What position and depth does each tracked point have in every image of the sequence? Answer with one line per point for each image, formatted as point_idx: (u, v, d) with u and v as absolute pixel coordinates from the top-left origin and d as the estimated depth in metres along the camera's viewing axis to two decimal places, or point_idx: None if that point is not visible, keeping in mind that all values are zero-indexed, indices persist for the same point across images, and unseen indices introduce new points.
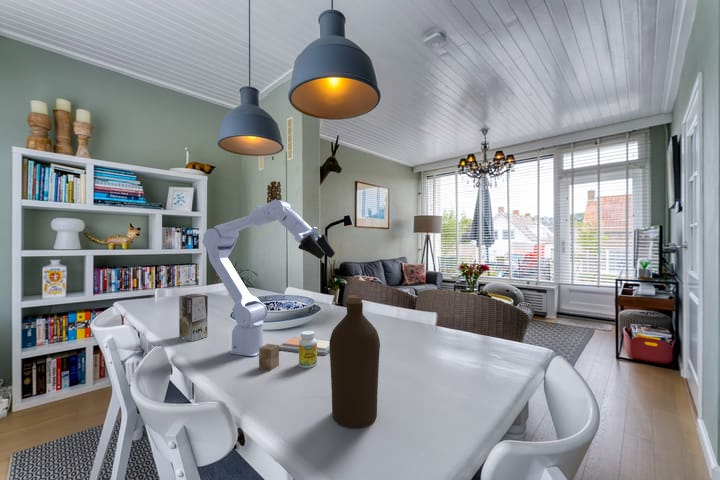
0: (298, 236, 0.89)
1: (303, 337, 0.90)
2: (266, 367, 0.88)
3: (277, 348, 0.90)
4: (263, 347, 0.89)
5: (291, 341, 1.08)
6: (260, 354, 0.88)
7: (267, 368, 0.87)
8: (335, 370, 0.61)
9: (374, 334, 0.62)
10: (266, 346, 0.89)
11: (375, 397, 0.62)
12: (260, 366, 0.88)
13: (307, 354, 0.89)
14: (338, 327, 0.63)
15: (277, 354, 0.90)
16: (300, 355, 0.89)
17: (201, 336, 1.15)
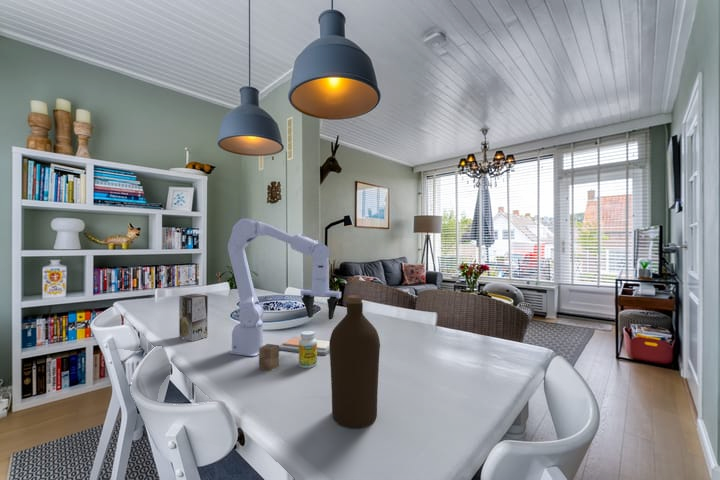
0: (340, 294, 1.04)
1: (303, 337, 0.90)
2: (266, 367, 0.88)
3: (277, 348, 0.90)
4: (263, 347, 0.89)
5: (291, 341, 1.08)
6: (260, 354, 0.88)
7: (267, 368, 0.87)
8: (335, 370, 0.61)
9: (374, 334, 0.62)
10: (266, 346, 0.89)
11: (375, 397, 0.62)
12: (260, 366, 0.88)
13: (307, 354, 0.89)
14: (338, 327, 0.63)
15: (277, 354, 0.90)
16: (300, 355, 0.89)
17: (201, 336, 1.15)
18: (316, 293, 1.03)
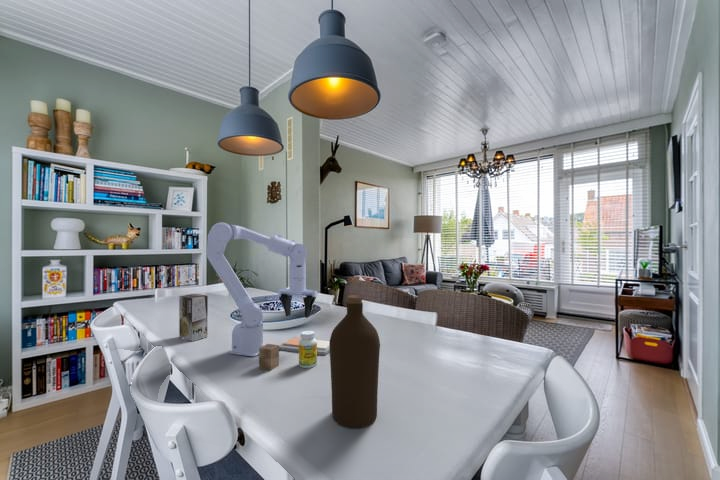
0: (316, 292, 1.06)
1: (303, 337, 0.90)
2: (266, 367, 0.88)
3: (277, 348, 0.90)
4: (263, 347, 0.89)
5: (291, 341, 1.08)
6: (260, 354, 0.88)
7: (267, 368, 0.87)
8: (335, 370, 0.61)
9: (374, 334, 0.62)
10: (266, 346, 0.89)
11: (375, 397, 0.62)
12: (260, 366, 0.88)
13: (307, 354, 0.89)
14: (338, 327, 0.63)
15: (277, 354, 0.90)
16: (300, 355, 0.89)
17: (201, 336, 1.15)
18: (292, 292, 1.05)
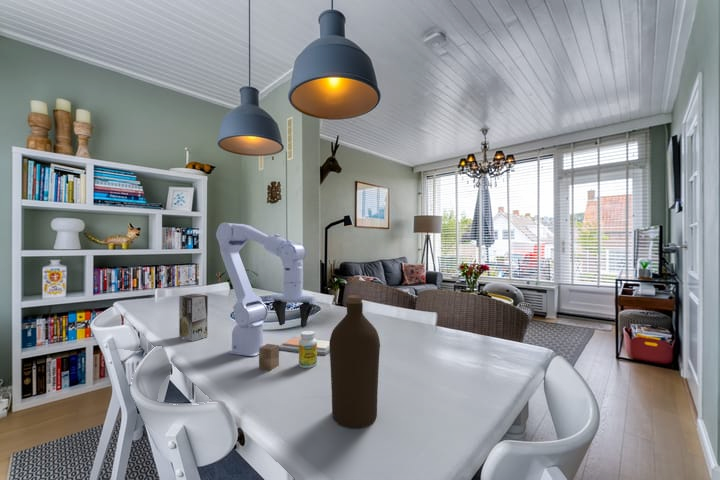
0: (314, 299, 0.94)
1: (303, 337, 0.90)
2: (266, 367, 0.88)
3: (277, 348, 0.90)
4: (263, 347, 0.89)
5: (291, 341, 1.08)
6: (260, 354, 0.88)
7: (267, 368, 0.87)
8: (335, 370, 0.61)
9: (374, 334, 0.62)
10: (266, 346, 0.89)
11: (375, 397, 0.62)
12: (260, 366, 0.88)
13: (307, 354, 0.89)
14: (338, 327, 0.63)
15: (277, 354, 0.90)
16: (300, 355, 0.89)
17: (201, 336, 1.15)
18: (287, 298, 0.93)
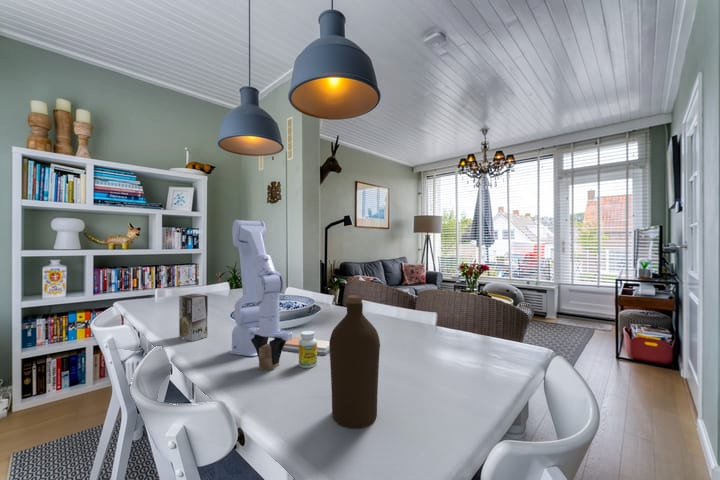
0: (290, 335, 0.87)
1: (303, 337, 0.90)
2: (266, 367, 0.87)
3: None
4: (263, 347, 0.89)
5: (291, 341, 1.08)
6: (260, 354, 0.88)
7: (267, 367, 0.87)
8: (335, 370, 0.61)
9: (374, 334, 0.62)
10: (266, 346, 0.89)
11: (375, 397, 0.62)
12: (260, 366, 0.88)
13: (307, 354, 0.89)
14: (338, 327, 0.63)
15: None
16: (300, 355, 0.89)
17: (201, 336, 1.15)
18: (262, 334, 0.87)
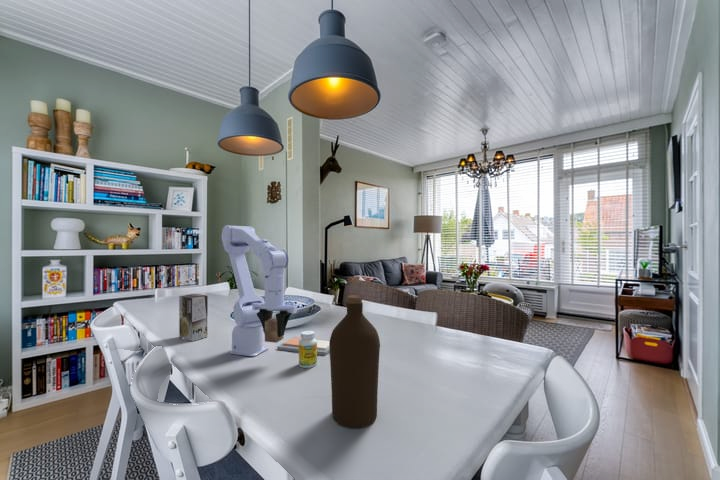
0: (296, 308, 0.91)
1: (303, 337, 0.90)
2: (272, 339, 0.91)
3: None
4: (268, 320, 0.92)
5: (291, 341, 1.08)
6: (266, 327, 0.91)
7: (272, 340, 0.90)
8: (335, 370, 0.61)
9: (374, 334, 0.62)
10: (271, 320, 0.92)
11: (375, 397, 0.62)
12: (266, 339, 0.91)
13: (307, 354, 0.89)
14: (338, 327, 0.63)
15: None
16: (300, 355, 0.89)
17: (201, 336, 1.15)
18: (268, 307, 0.90)
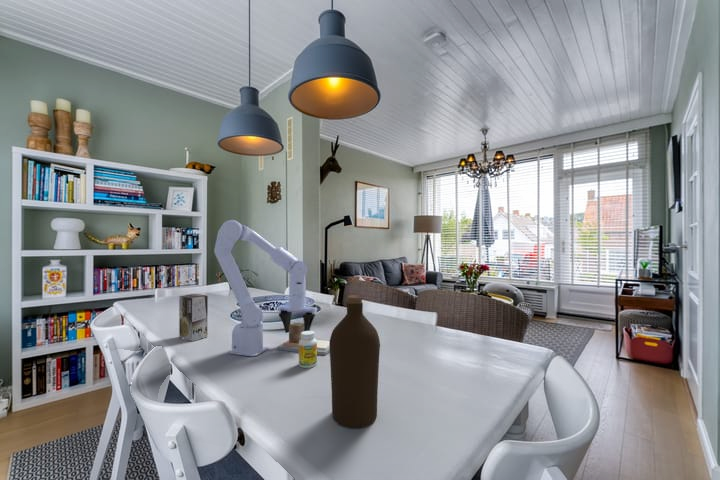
0: (316, 309, 1.06)
1: (303, 337, 0.90)
2: (295, 341, 1.06)
3: (303, 325, 1.09)
4: (292, 324, 1.07)
5: None
6: (290, 330, 1.06)
7: (295, 341, 1.06)
8: (335, 370, 0.61)
9: (374, 334, 0.62)
10: (294, 324, 1.08)
11: (375, 397, 0.62)
12: (290, 340, 1.06)
13: (307, 354, 0.89)
14: (338, 327, 0.63)
15: (303, 330, 1.09)
16: (300, 355, 0.89)
17: (201, 336, 1.15)
18: (292, 309, 1.05)
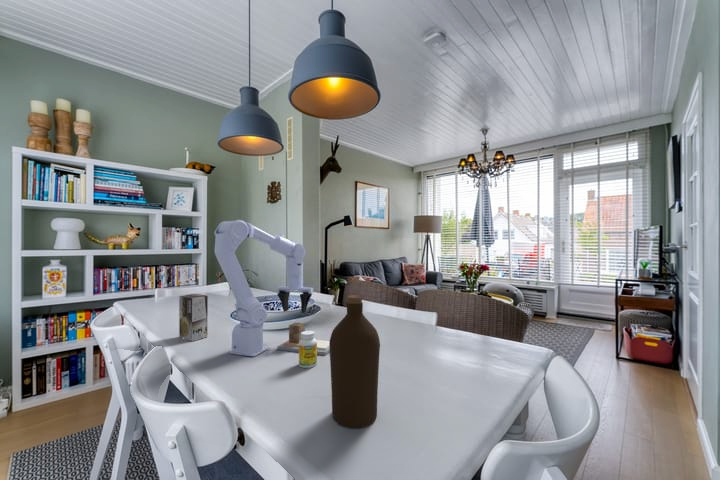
0: (312, 289, 1.14)
1: (303, 337, 0.90)
2: (295, 341, 1.06)
3: (303, 325, 1.09)
4: (292, 324, 1.07)
5: None
6: (290, 330, 1.06)
7: (295, 341, 1.06)
8: (335, 370, 0.61)
9: (374, 334, 0.62)
10: (294, 324, 1.08)
11: (375, 397, 0.62)
12: (290, 340, 1.06)
13: (307, 354, 0.89)
14: (338, 327, 0.63)
15: (303, 330, 1.09)
16: (300, 355, 0.89)
17: (201, 336, 1.15)
18: (290, 289, 1.13)
